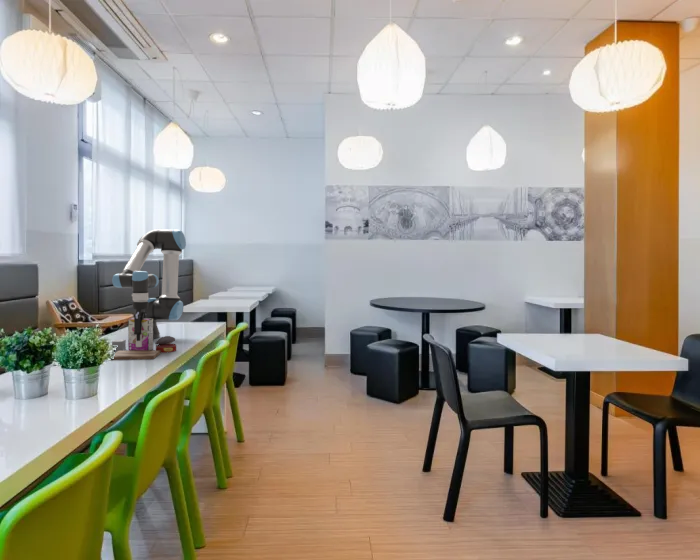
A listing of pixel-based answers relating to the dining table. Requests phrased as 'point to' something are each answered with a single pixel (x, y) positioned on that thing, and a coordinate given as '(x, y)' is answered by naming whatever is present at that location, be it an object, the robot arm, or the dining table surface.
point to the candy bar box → (146, 335)
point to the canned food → (164, 346)
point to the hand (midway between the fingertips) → (140, 345)
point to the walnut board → (136, 354)
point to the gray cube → (120, 344)
